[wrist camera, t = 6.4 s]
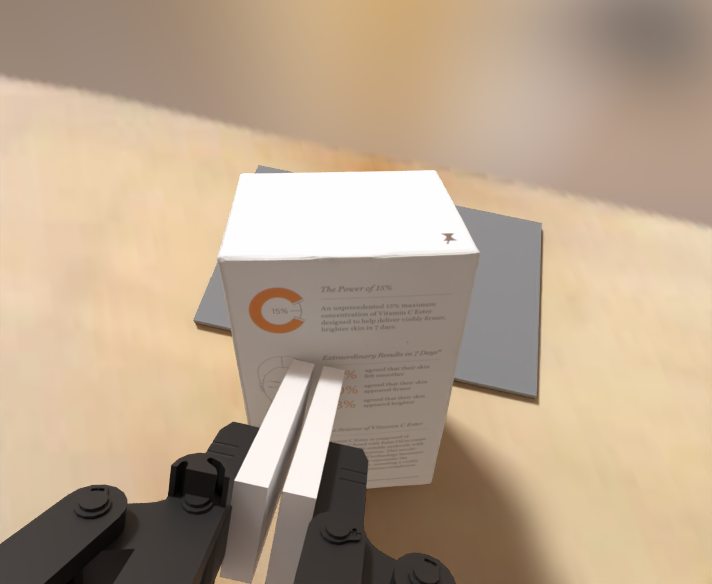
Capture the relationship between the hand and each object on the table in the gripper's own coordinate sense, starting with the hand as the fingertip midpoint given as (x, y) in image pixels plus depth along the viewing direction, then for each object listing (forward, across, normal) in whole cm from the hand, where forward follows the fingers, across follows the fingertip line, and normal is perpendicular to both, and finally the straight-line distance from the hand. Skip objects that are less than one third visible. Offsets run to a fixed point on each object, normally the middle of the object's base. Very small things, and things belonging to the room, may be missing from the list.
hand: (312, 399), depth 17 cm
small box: (+7, +2, -6) cm, 9 cm away
